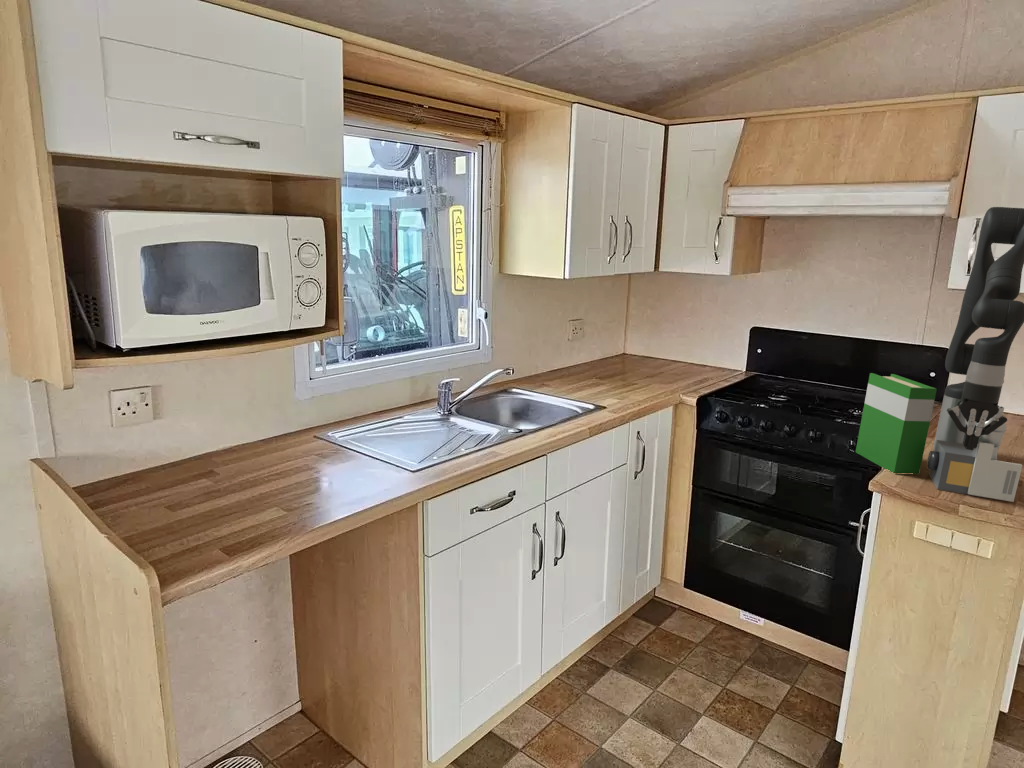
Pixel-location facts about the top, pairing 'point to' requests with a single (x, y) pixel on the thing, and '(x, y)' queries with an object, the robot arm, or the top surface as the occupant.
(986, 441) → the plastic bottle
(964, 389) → the robot arm
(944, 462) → the camera housing
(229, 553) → the top surface
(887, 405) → the hardback book
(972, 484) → the side door
